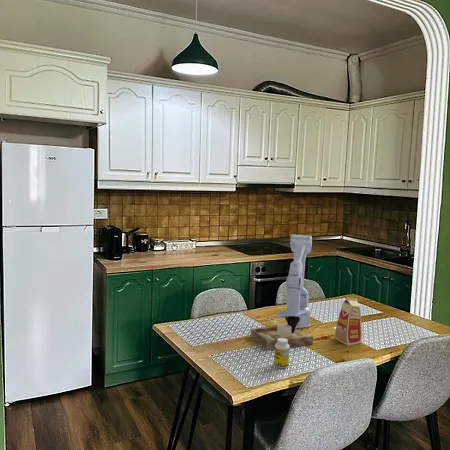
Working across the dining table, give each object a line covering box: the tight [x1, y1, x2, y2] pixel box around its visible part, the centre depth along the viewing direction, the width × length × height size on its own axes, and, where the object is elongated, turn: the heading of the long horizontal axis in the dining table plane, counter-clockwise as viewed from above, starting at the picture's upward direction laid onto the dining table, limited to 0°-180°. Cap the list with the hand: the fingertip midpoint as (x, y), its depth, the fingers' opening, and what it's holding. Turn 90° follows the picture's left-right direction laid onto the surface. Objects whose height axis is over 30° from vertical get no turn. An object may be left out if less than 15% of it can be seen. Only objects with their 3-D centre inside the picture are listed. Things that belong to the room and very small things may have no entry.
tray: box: [250, 325, 314, 351], centre depth 192 cm, size 22×16×4 cm
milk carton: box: [333, 296, 363, 346], centre depth 194 cm, size 9×9×20 cm
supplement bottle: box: [273, 338, 291, 369], centre depth 165 cm, size 6×6×10 cm
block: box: [277, 323, 292, 338], centre depth 192 cm, size 4×4×4 cm
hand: (291, 332), depth 193 cm, fingers closed
